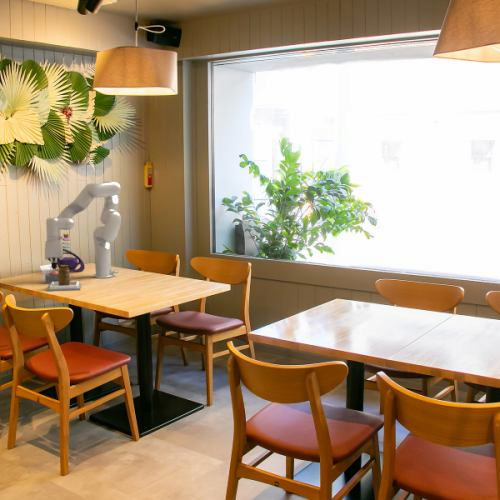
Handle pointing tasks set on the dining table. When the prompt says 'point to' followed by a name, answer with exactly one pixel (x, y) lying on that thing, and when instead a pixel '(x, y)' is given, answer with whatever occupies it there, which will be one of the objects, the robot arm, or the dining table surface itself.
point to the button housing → (51, 278)
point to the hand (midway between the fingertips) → (54, 269)
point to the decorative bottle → (70, 258)
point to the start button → (54, 273)
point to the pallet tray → (73, 286)
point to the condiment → (64, 275)
